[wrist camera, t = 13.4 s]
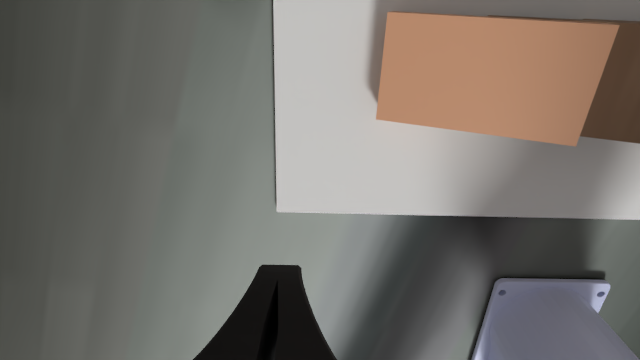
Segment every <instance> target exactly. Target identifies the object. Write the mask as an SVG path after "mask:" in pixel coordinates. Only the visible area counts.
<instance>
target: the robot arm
mask: <svg viewBox="0 0 640 360" xmlns="http://www.w3.org/2000/svg"><path fill="white" fill-rule="evenodd" d="M501 290H502V291H501ZM609 290H610V284H609V283H608V282H607V281H606V280H590V279H526V278H501V279H498V280H497V281H496V282H495V284H494V288H493V291H492V294H491V298H490V301H489V304H488V307H487V311H486V314H485V317H484V320H483V324H482V327H481V330H480V333H479V337H478V340H477V343H476V346H475V350H474V353H473V356H472V360H639V359H638V357H637V356H636V355H635V354H634V353H633V352H632V351H631V350H630V349H629V347H628V346H627V345H626V344H625V343H624V342H623V341H622V340H621V338H620V337H619V336H618V335H617V334H616V333H615V332H614V331H613V329H612V328H611V327H610V326H609V325H608V324H607V323H606V322H605V320H604V319H603V318H602V317H601V316H600V315H599V314H598V312H599V310H600V308H601V306H602V304H603V302H604V300H605V298H606V296H607V294H608V292H609ZM499 291H500V292H499ZM193 360H337V359H336V358H335V356H334V354H333V353H332V351H331V349H330V347H329V346H328V344H327V342H326V340H325V338H324V336H323V334H322V332H321V330H320V328H319V326H318V323H317V321H316V319H315V317H314V314H313V312H312V309H311V306H310V304H309V301H308V298H307V295H306V292H305V288H304V285H303V280H302V274H301V268H300V267H299V266H298V265H262V266H260V267H259V269H258V271H257V273H256V275H255V277H254V279H253V281H252V283H251V285H250V286H249V288H248V290H247V291H246V293H245V295H244V296H243V298H242V299H241V301H240V302H239V304H238V305H237V307H236V308H235V310H234V311H233V313H232V314H231V315H230V317H229V318H228V319H227V321H226V322H225V323H224V325H223V326H222V327H221V329H220V330H219V331H218V332H217V334H216V335H215V336H214V337H213V338H212V340H211V341H210V342H209V343H208V344H207V345H206V346H205V348H204V349H203V350H202V351H201V352H200V353H199V354H198V355H197V356H196V357H195V358H194V359H193Z"/></svg>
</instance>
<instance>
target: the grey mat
mask: <svg viewBox="0 0 640 360" xmlns="http://www.w3.org/2000/svg"><path fill="white" fill-rule="evenodd" d="M391 11H401V12H419V13H437V14H454V15H472V16H488V15H501V16H521V17H541V18H561V19H581V20H583V19H603V20H623V21H640V0H273V14H274V75H275V136H276V196H277V212H296V213H343V214H391V215H438V216H485V217H533V218H580V219H628V220H640V144H638V143H630V142H622V141H614V140H606V139H598V138H590V137H582V136H580V137H579V139H578V142H577V145H576V147H575V146H568V145H561V144H553V143H546V142H539V141H531V140H524V139H516V138H509V137H502V136H494V135H487V134H480V133H472V132H465V131H457V130H450V129H443V128H435V127H428V126H421V125H413V124H406V123H398V122H391V121H384V120H376V113H377V104H378V95H379V86H380V77H381V68H382V58H383V49H384V40H385V31H386V22H387V13H388V12H391Z"/></svg>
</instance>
